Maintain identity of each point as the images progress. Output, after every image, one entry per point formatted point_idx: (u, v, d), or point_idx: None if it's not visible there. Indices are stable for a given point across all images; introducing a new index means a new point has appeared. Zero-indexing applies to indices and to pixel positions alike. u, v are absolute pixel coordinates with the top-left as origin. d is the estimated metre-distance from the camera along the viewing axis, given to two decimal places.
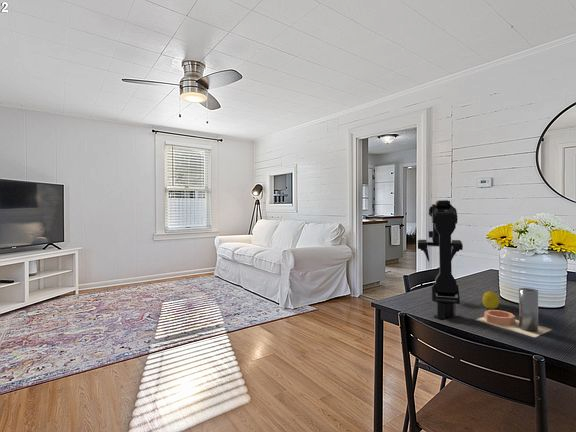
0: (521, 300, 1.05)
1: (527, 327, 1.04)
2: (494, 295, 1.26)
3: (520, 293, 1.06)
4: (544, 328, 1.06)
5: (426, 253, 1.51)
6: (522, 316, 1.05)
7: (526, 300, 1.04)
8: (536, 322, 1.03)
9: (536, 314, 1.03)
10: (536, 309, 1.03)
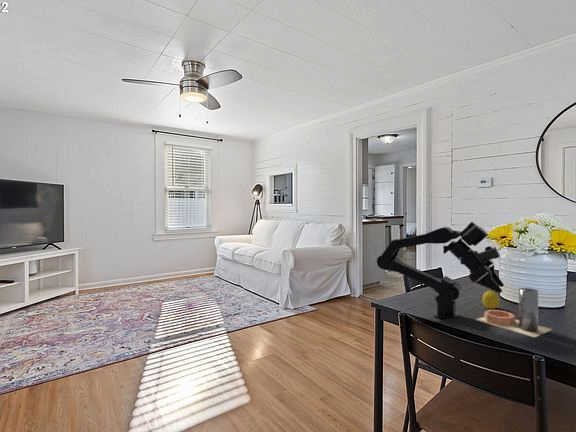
0: (521, 300, 1.05)
1: (527, 327, 1.04)
2: (494, 295, 1.26)
3: (520, 293, 1.06)
4: (544, 328, 1.06)
5: None
6: (522, 316, 1.05)
7: (526, 300, 1.04)
8: (536, 322, 1.03)
9: (536, 314, 1.03)
10: (536, 309, 1.03)
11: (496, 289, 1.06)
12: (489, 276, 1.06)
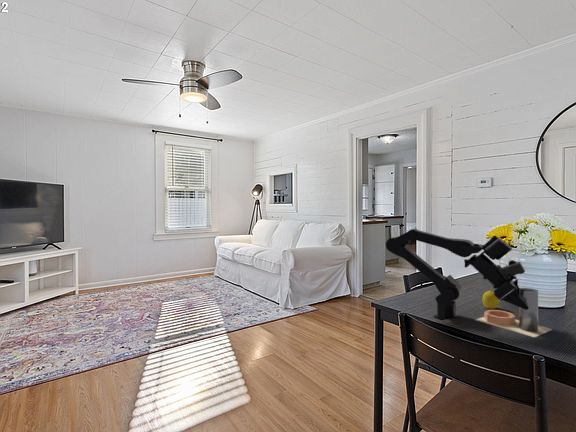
0: None
1: (527, 327, 1.04)
2: (494, 295, 1.26)
3: (520, 293, 1.06)
4: (544, 328, 1.06)
5: None
6: (522, 316, 1.05)
7: (526, 300, 1.04)
8: (536, 322, 1.03)
9: (536, 314, 1.03)
10: (536, 309, 1.03)
11: (522, 306, 1.02)
12: (515, 292, 1.02)
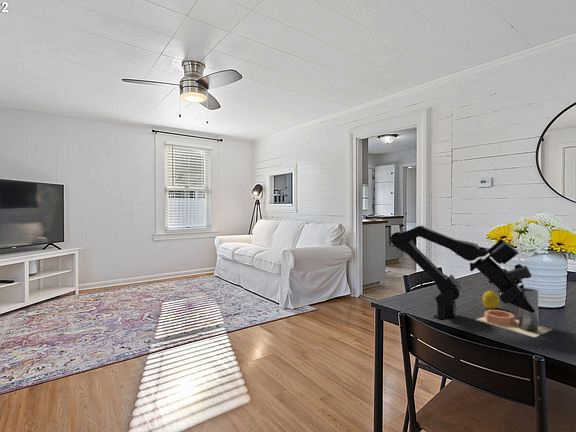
0: None
1: (527, 327, 1.04)
2: (494, 295, 1.26)
3: None
4: (544, 328, 1.06)
5: None
6: (522, 316, 1.05)
7: None
8: (536, 322, 1.03)
9: (536, 314, 1.03)
10: (536, 309, 1.03)
11: (529, 309, 1.03)
12: (521, 296, 1.03)
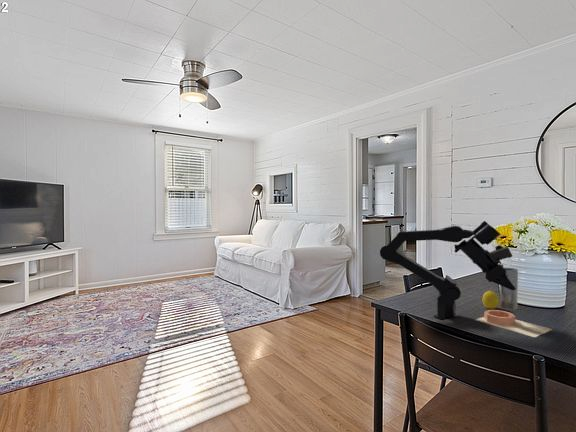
0: None
1: (508, 304, 1.09)
2: (494, 295, 1.26)
3: None
4: (544, 328, 1.06)
5: None
6: (503, 294, 1.10)
7: (508, 278, 1.09)
8: (516, 299, 1.09)
9: (516, 292, 1.09)
10: (516, 287, 1.09)
11: (510, 287, 1.08)
12: (504, 274, 1.07)
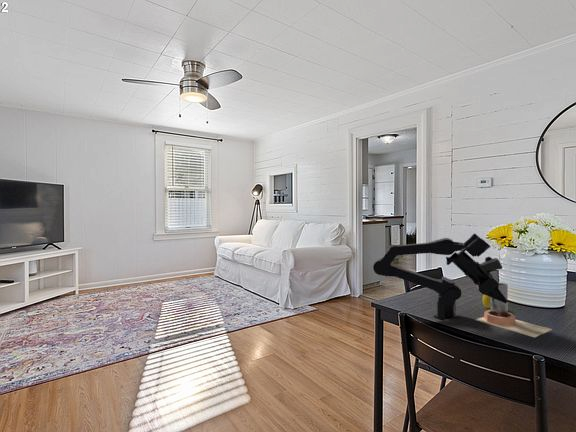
0: None
1: None
2: None
3: None
4: (544, 328, 1.06)
5: None
6: (495, 308, 1.12)
7: None
8: (506, 314, 1.12)
9: (506, 306, 1.11)
10: None
11: (502, 300, 1.09)
12: (497, 287, 1.08)
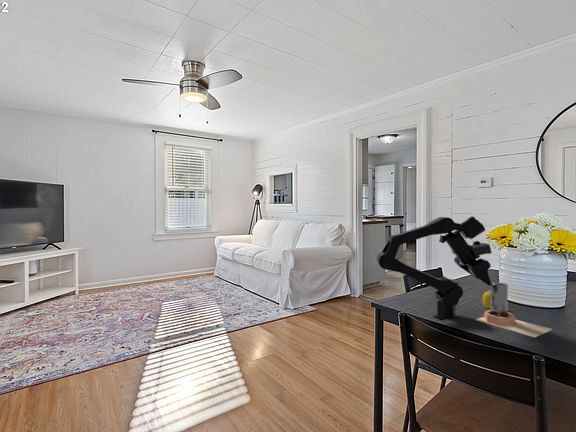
0: (493, 294, 1.13)
1: None
2: None
3: (492, 287, 1.13)
4: (544, 328, 1.06)
5: (465, 270, 1.25)
6: (495, 308, 1.12)
7: (498, 293, 1.11)
8: (506, 314, 1.11)
9: (506, 306, 1.11)
10: (506, 301, 1.11)
11: (487, 282, 1.13)
12: (486, 270, 1.12)
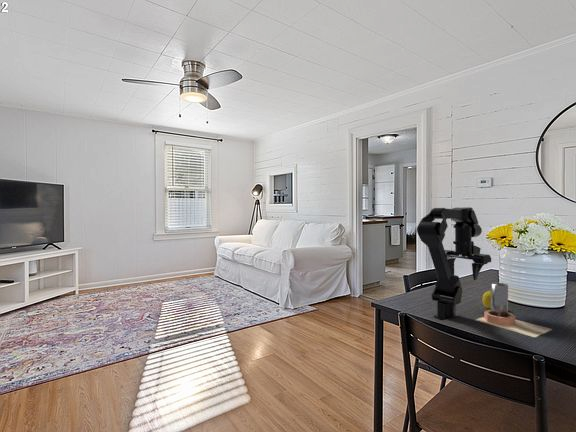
0: (494, 294, 1.12)
1: None
2: None
3: (493, 288, 1.13)
4: (544, 328, 1.06)
5: None
6: (495, 309, 1.12)
7: (499, 294, 1.11)
8: (506, 314, 1.11)
9: (507, 307, 1.11)
10: (507, 302, 1.11)
11: (476, 276, 1.24)
12: (482, 265, 1.24)
